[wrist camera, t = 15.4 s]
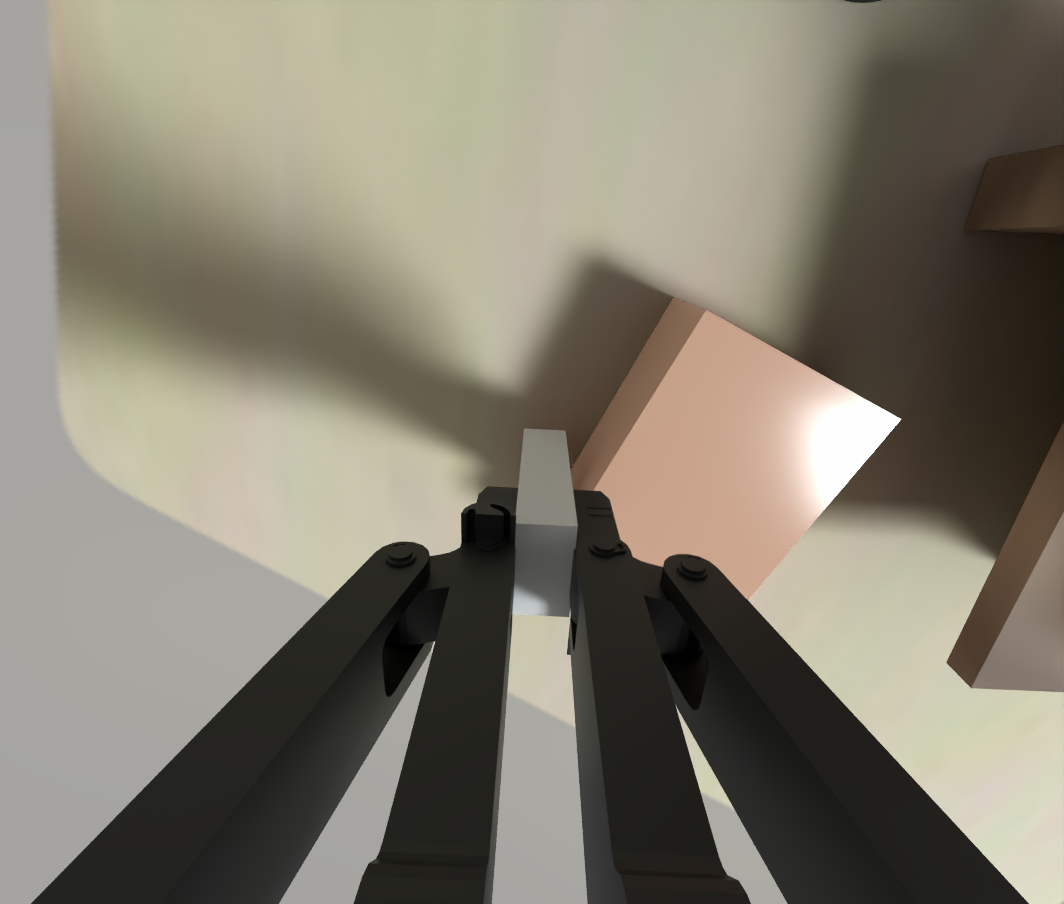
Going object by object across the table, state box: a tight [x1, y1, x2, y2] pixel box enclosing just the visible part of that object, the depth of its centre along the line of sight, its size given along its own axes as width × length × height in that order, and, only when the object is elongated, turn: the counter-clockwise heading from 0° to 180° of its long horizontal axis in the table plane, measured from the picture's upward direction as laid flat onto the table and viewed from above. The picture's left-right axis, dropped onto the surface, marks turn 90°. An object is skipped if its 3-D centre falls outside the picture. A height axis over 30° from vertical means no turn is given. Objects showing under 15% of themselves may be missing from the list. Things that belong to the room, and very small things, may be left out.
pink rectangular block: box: [571, 297, 901, 600], centre depth 18 cm, size 7×10×4 cm
